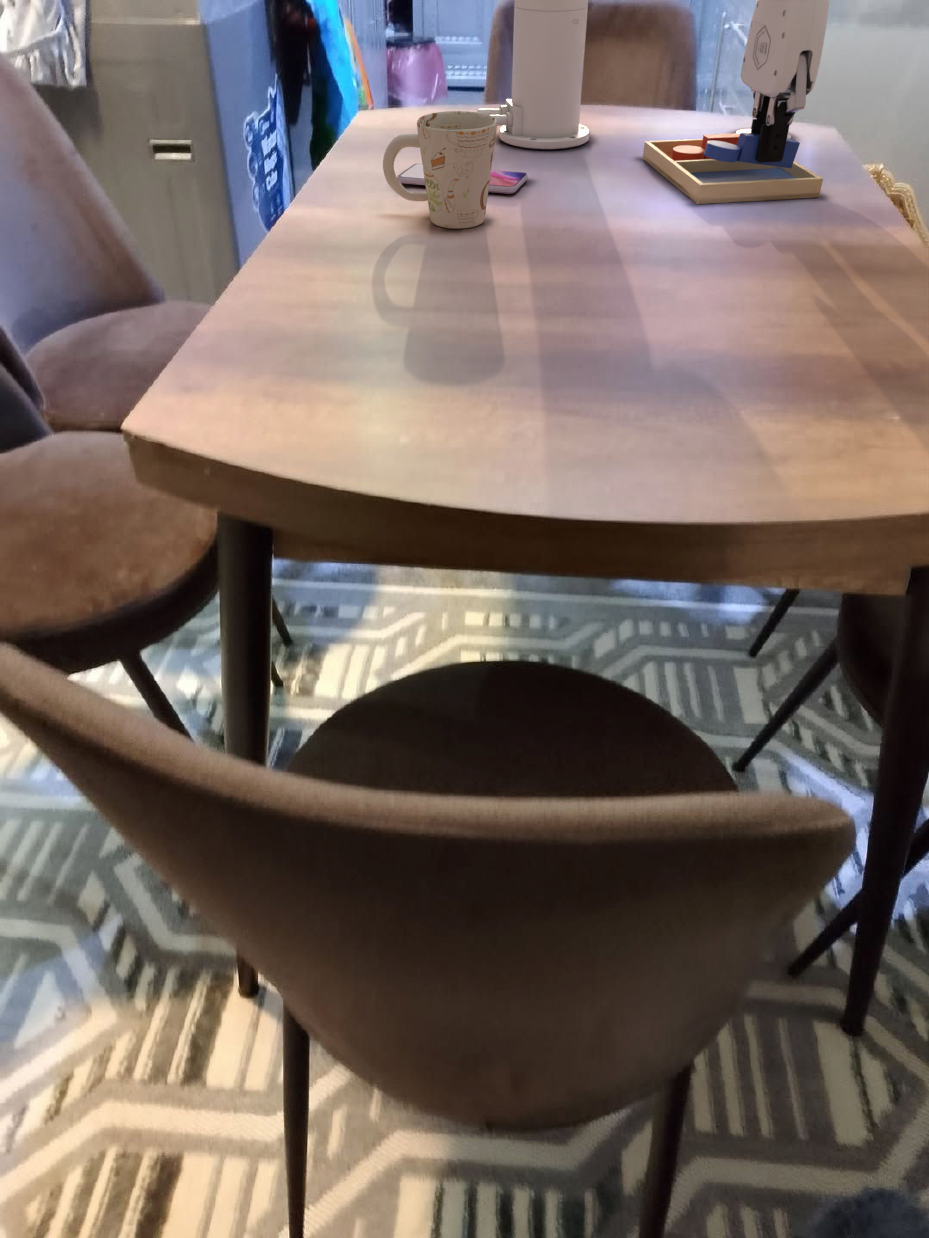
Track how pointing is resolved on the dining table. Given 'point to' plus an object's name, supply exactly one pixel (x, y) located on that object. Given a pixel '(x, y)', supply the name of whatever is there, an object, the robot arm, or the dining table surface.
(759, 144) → the robot arm
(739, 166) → the tray
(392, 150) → the mug
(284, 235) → the dining table surface
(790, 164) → the blue foam brick
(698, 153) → the rust-red brick
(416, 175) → the smartphone
